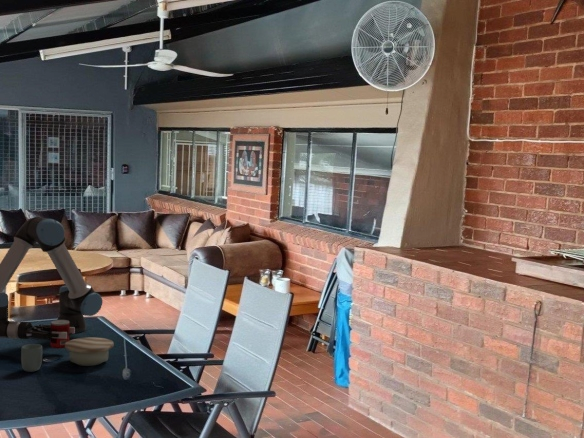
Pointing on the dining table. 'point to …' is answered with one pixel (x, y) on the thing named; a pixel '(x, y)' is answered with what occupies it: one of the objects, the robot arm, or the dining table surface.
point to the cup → (31, 357)
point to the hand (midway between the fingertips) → (70, 332)
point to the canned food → (59, 327)
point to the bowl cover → (89, 345)
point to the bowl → (88, 358)
